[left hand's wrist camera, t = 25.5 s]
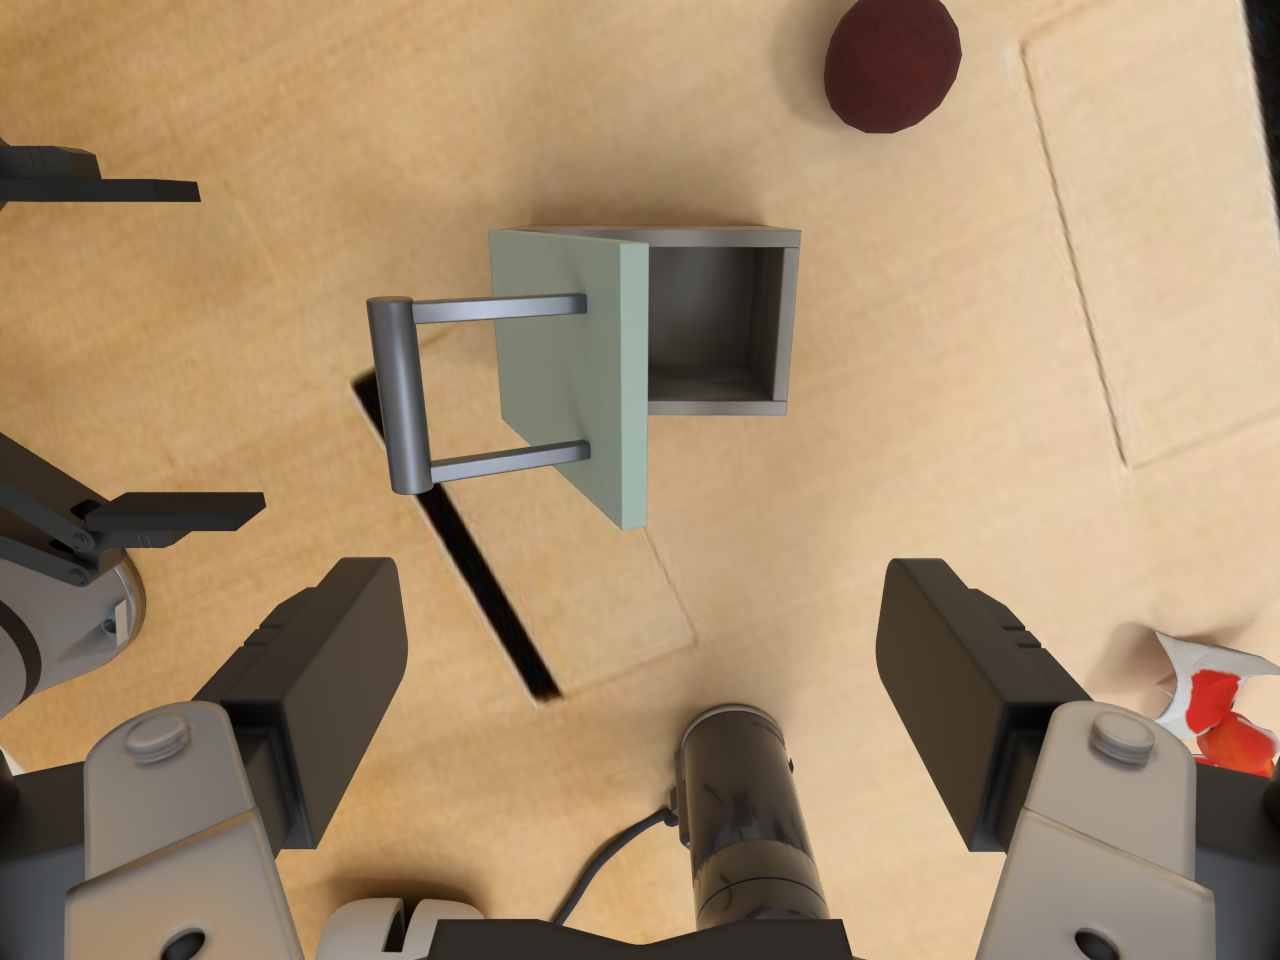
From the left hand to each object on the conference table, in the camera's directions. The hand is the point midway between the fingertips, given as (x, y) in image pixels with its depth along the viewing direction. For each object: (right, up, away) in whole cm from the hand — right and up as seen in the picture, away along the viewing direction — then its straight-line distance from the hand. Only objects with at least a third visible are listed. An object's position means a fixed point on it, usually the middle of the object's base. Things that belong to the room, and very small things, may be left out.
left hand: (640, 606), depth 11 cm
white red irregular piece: (+47, -16, +50) cm, 71 cm away
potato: (+15, +28, +33) cm, 46 cm away
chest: (0, +15, +38) cm, 41 cm away
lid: (-3, +8, +20) cm, 22 cm away
